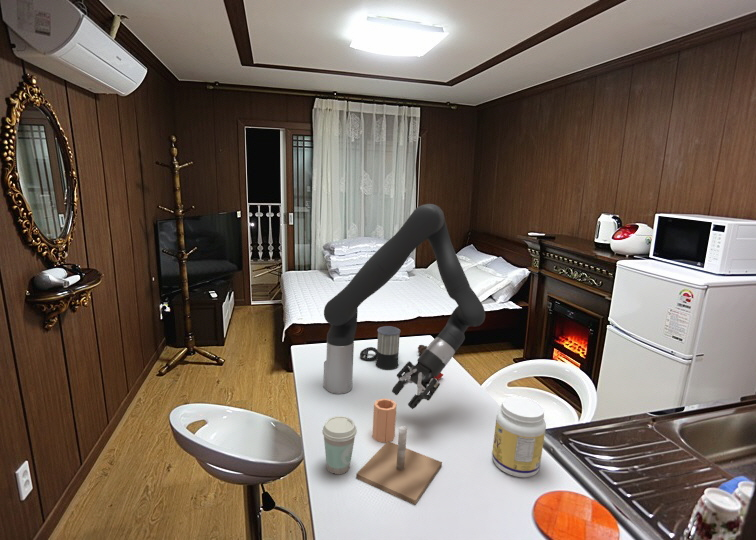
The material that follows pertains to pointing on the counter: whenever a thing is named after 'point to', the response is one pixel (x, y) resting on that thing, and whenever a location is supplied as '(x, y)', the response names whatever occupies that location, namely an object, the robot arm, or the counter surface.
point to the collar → (384, 420)
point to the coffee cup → (339, 443)
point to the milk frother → (385, 348)
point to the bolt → (421, 349)
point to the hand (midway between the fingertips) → (401, 400)
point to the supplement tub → (519, 436)
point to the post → (400, 470)
